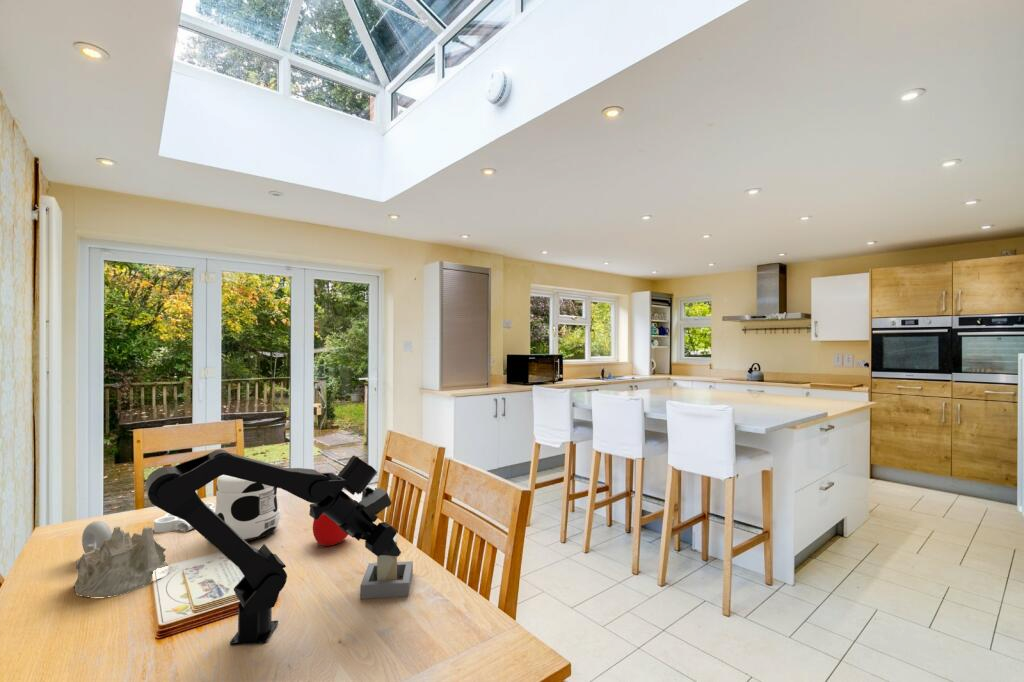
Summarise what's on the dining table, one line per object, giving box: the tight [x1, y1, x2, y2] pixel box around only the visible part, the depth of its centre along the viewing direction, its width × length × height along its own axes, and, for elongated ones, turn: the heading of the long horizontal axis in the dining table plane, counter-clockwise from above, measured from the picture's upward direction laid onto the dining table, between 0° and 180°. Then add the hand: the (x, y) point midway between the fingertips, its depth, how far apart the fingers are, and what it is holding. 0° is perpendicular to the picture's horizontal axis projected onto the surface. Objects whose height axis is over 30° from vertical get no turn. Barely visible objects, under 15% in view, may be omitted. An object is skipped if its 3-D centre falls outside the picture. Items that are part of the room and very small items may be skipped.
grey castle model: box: [73, 526, 169, 598], centre depth 111 cm, size 16×16×15 cm
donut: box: [81, 520, 113, 553], centre depth 121 cm, size 10×4×10 cm, turn 66°
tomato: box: [312, 514, 348, 547], centre depth 133 cm, size 10×11×11 cm
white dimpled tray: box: [153, 502, 216, 534], centre depth 147 cm, size 3×18×15 cm
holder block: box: [359, 560, 414, 600], centre depth 110 cm, size 10×10×3 cm
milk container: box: [215, 475, 281, 542], centre depth 138 cm, size 17×17×18 cm
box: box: [376, 534, 398, 581], centre depth 110 cm, size 5×4×11 cm
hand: (389, 547), depth 110 cm, fingers open, 9 cm apart
